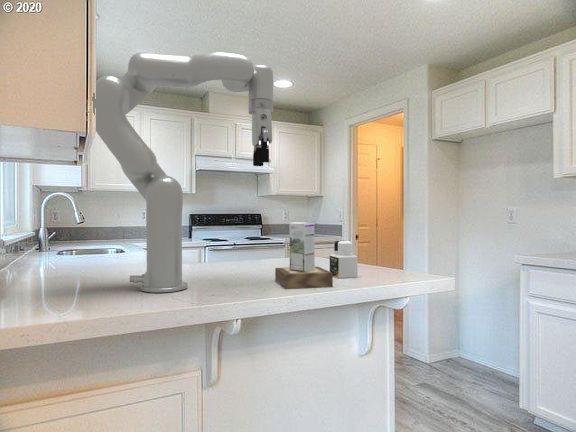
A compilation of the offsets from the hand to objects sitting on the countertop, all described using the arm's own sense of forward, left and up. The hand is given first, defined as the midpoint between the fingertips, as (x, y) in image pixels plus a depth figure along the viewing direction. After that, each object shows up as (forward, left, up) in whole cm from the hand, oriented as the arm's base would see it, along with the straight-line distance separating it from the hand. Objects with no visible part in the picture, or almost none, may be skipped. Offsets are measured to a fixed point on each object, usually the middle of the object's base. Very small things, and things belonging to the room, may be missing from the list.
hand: (260, 164), depth 120 cm
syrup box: (+12, -5, -32) cm, 35 cm away
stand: (+12, -5, -36) cm, 39 cm away
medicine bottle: (+29, +5, -36) cm, 47 cm away
